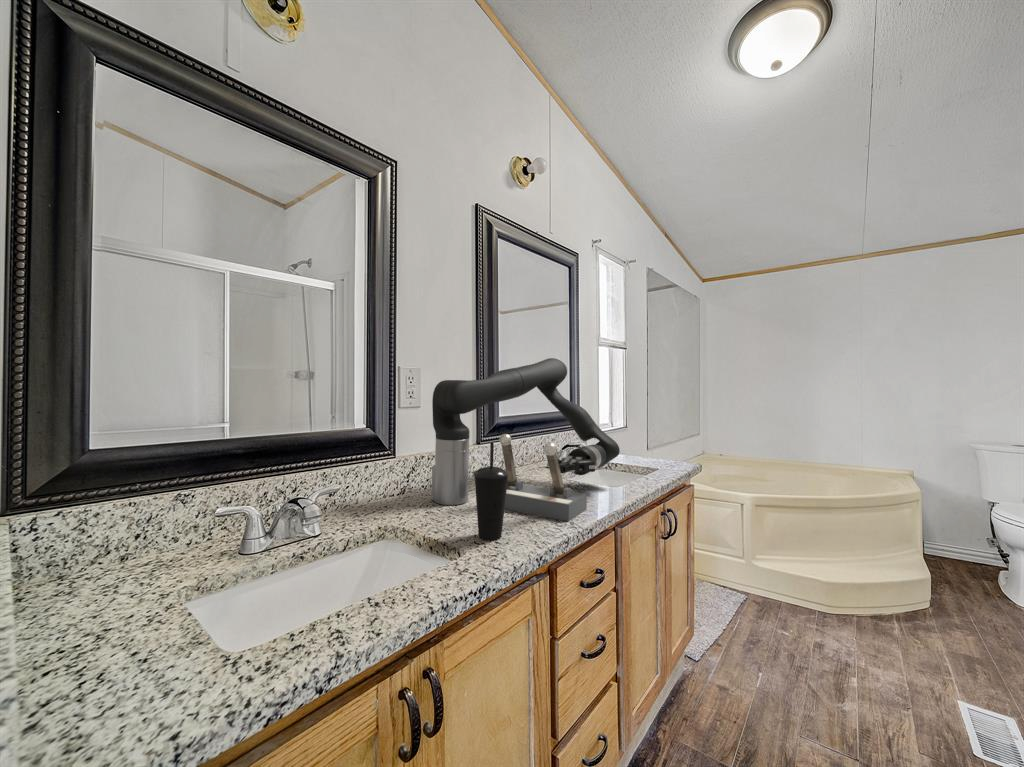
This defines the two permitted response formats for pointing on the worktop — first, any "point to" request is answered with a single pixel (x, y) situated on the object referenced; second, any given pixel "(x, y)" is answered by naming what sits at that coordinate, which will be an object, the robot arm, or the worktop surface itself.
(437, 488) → the robot arm
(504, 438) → the lever
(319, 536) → the worktop surface
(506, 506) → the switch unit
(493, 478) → the drinking cup
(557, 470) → the lever
